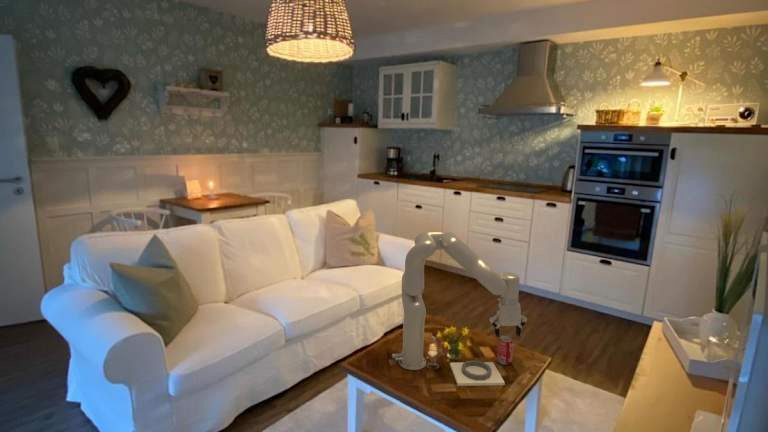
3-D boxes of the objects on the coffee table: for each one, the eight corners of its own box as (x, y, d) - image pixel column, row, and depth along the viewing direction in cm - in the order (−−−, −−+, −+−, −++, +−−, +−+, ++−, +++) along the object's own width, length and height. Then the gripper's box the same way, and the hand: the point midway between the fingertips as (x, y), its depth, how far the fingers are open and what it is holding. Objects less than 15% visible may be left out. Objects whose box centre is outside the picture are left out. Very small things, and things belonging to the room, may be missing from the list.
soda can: (510, 358, 192) (512, 335, 190) (513, 366, 186) (515, 342, 183) (495, 357, 193) (496, 334, 191) (497, 365, 186) (499, 341, 184)
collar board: (457, 385, 170) (458, 378, 170) (449, 364, 186) (450, 358, 185) (504, 385, 171) (505, 378, 171) (492, 364, 187) (493, 358, 186)
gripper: (493, 304, 180) (491, 339, 183) (531, 303, 180) (529, 338, 184) (488, 297, 187) (486, 332, 190) (524, 296, 188) (522, 331, 191)
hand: (507, 335), depth 187 cm, fingers open, 9 cm apart
